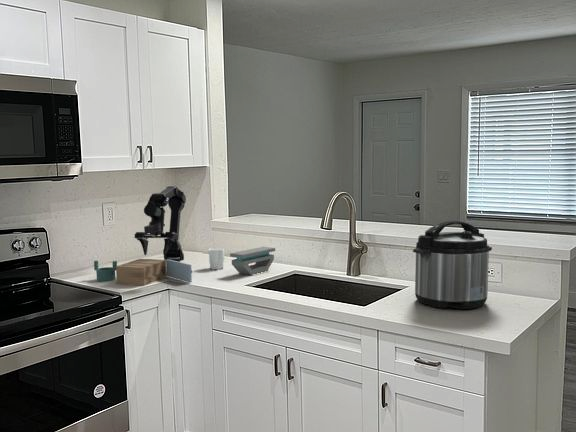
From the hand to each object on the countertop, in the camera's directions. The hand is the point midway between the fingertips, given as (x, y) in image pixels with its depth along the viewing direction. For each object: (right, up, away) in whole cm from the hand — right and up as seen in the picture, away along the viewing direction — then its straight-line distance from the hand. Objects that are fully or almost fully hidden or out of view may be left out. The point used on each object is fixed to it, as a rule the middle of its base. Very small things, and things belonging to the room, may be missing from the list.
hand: (154, 255), depth 260 cm
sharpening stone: (+42, -11, +26) cm, 51 cm away
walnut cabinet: (-8, -12, +10) cm, 18 cm away
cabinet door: (+9, -12, +10) cm, 18 cm away
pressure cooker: (+122, -16, -33) cm, 127 cm away
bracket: (-25, -12, +12) cm, 31 cm away
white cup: (+23, -9, +37) cm, 45 cm away
